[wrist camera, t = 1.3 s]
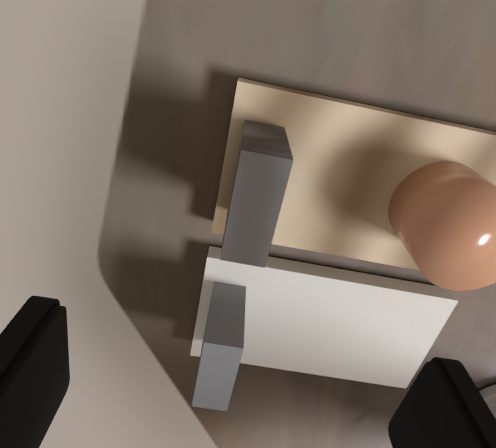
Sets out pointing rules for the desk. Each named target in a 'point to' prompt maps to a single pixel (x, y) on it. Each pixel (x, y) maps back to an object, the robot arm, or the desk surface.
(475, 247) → the peach rounded lump
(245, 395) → the desk surface
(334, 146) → the beige stand with post
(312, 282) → the white board gray block
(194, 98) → the desk surface
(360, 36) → the desk surface
